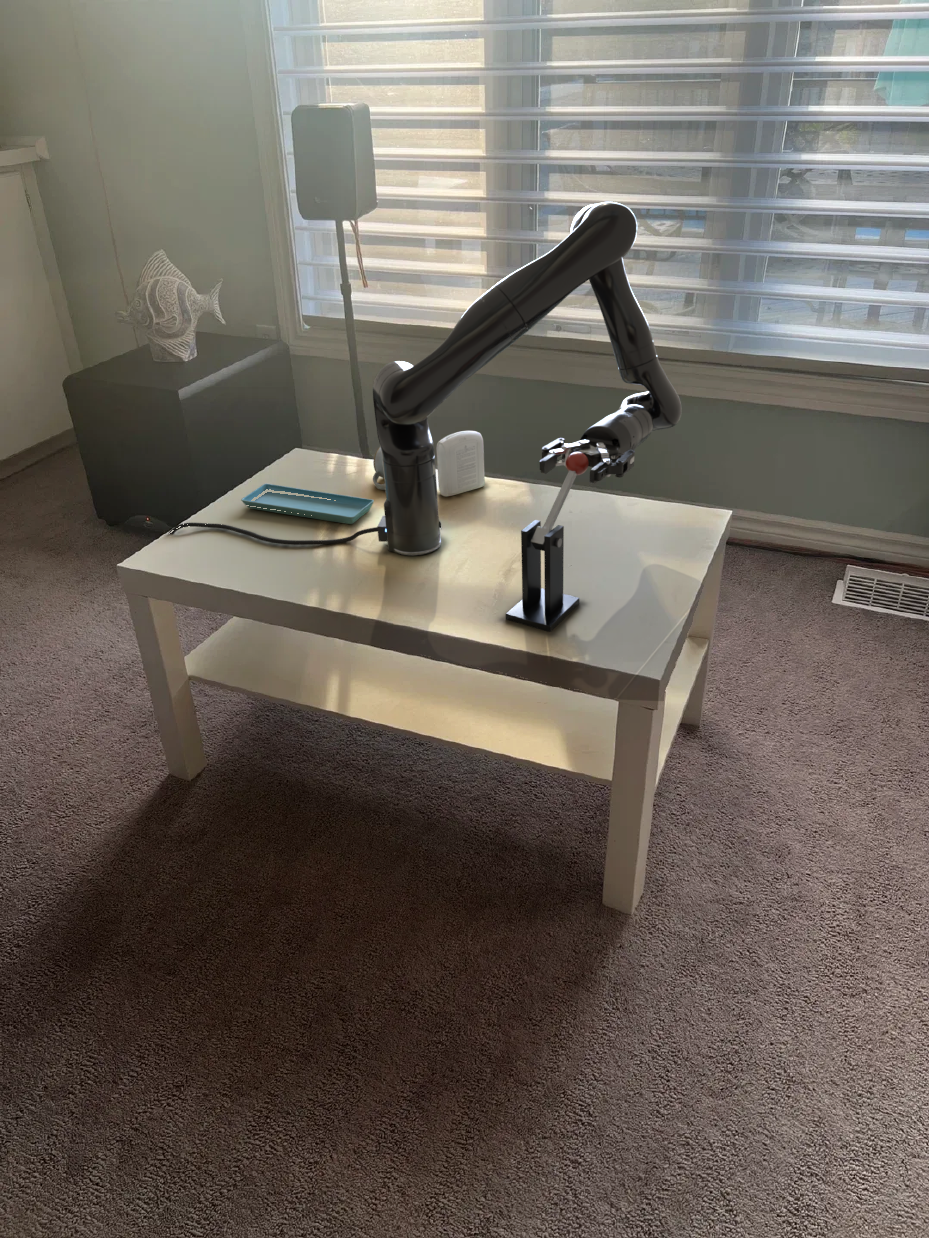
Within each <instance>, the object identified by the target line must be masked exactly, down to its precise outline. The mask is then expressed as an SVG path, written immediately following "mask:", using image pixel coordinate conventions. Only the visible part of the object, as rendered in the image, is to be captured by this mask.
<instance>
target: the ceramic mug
mask: <svg viewBox="0 0 929 1238" xmlns="http://www.w3.org/2000/svg"><path fill="white" fill-rule="evenodd" d="M372 461H373V462H372V463H373V470H374V474H373V476H372V482H373V484H374V487H375V488H376V489H378V490H381V491H386V490H385V483H382V484H380V483H378V480H379V478H382V479H384V470H383V460H382V452H381V447H380V446H379V447H378V448H377V449H376V451H375V453H374V455H373V460H372Z"/></svg>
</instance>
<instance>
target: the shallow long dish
mask: <svg viewBox="0 0 929 1238" xmlns="http://www.w3.org/2000/svg"><path fill="white" fill-rule="evenodd" d="M266 489H268V490H269V489H271V490H274V491H285V492H291V493H298V494H304V495H309V496H314V497H322V498H327V499H331V500H327V499H319V498H311V497H304V496H296V495H288V494H280V493H272V492H267V493H265V494H264V495H262V496H261V497H259V498H258V499H256V500H255V501H251V500H252V499H253V498H254V497H257V496H258V495H259V494H261V493H262V492H263V491H265V490H266ZM334 500H336V501H334ZM240 501H241V502H242V503H243V504H244V505H245V506H246V505H249V506H246V507H247V508H248V509H251V510H252V509H253V510H256V511H257V510H258V511H264V512H270V513H276V514H282V515H287V516H289V515H290V516H293V517H294V516H295V517H302V518H307V519H308V518H309V519H315V520H321V521H327V522H335V523H339V524H346V525H353V524H354V523H356V522H357V521H358V520H359V519H361V518H362V517H363V516H364V515H365V514H367V513H368V512H369V511H370V510H371V508H372V506H373V504H374V502H375V499H371V498H364V497H358V496H353V495H352V496H351V495H346V494H345V495H344V494H337V493H332V492H331V493H330V492H324V491H317V490H312V489H311V490H310V489H304V488H297V487H293V486H292V487H291V486H285V485H280V484H274V483H273V484H271V483H263V484H262V485H260V486H258V487H257V488H256V489H255V490H253V491H252V492H250V493H249V494H247V495H246V496H244V497H242V498H241V500H240ZM250 506H256V507H250ZM257 507H261V508H257ZM263 508H267V509H263ZM270 509H276V510H270ZM277 510H281V511H277ZM284 511H286V512H284ZM291 512H292V513H291ZM297 513H299V514H297ZM304 514H305V515H304ZM311 515H312V516H311Z"/></svg>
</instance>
